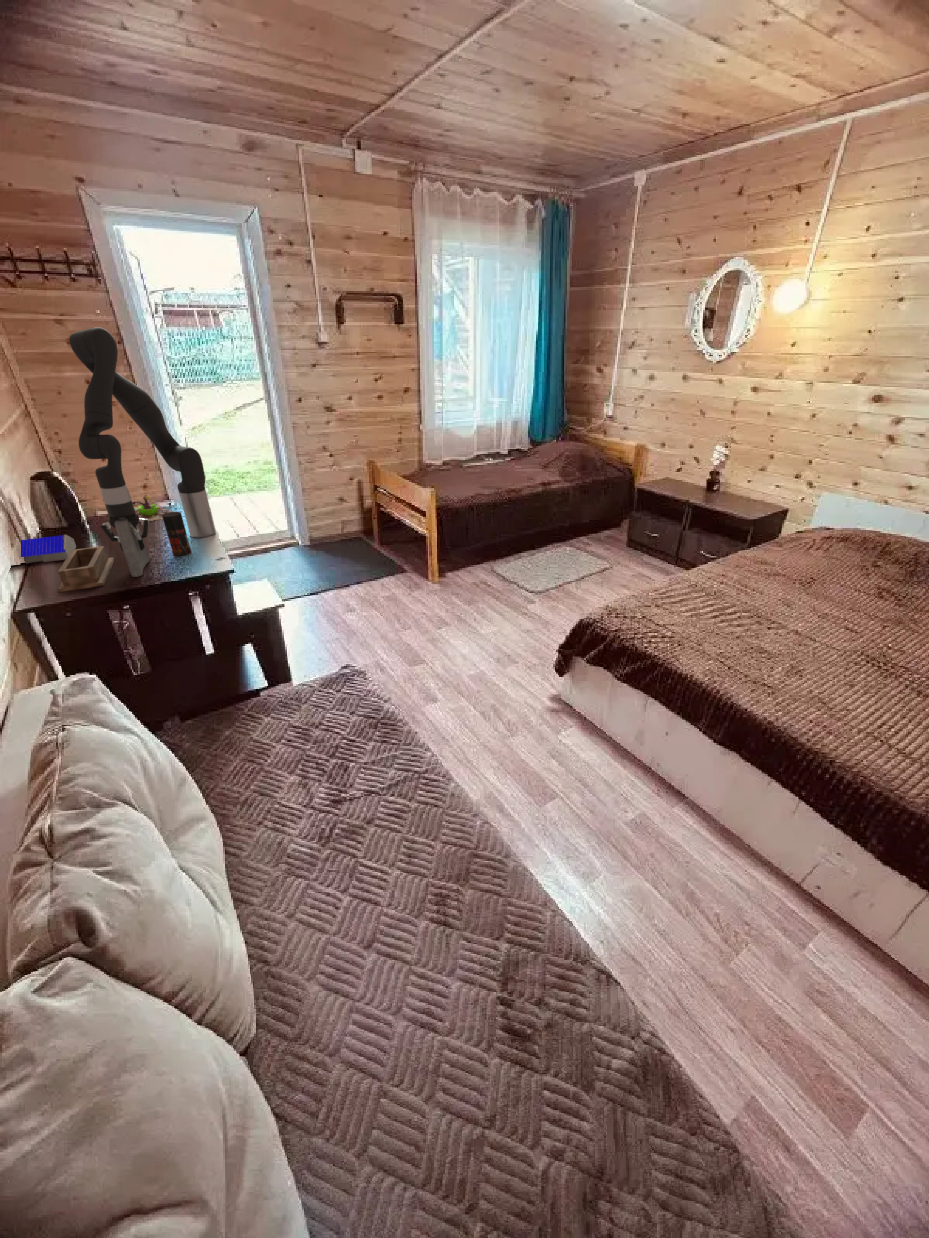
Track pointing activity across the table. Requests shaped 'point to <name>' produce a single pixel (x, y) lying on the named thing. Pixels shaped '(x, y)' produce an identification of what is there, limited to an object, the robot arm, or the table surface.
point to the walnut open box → (85, 569)
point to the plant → (149, 510)
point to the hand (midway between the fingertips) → (134, 550)
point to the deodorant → (176, 534)
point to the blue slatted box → (47, 548)
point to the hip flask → (131, 547)
